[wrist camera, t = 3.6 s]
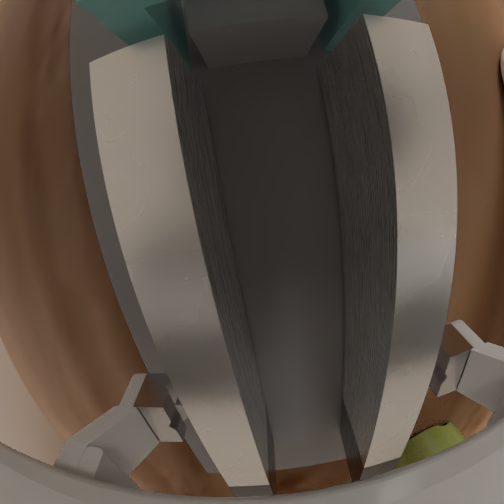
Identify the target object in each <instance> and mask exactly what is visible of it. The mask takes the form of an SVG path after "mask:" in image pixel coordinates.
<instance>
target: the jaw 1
mask: <svg viewBox="0 0 504 504" xmlns="http://www.w3.org/2000/svg"><path fill="white" fill-rule="evenodd" d="M89 67H90V82H91V94H92V104H93V113H94V121H95V128H96V135H97V142H98V148H99V154H100V159H101V165H102V170H103V175H104V180H105V185H106V190H107V194H108V199H109V203H110V207H111V211H112V215H113V219H114V223H115V227H116V231H117V235H118V238H119V242H120V246H121V249H122V252H123V256H124V259H125V262H126V266H127V269H128V272H129V275H130V278H131V281H132V284H133V287H134V290H135V293H136V296H137V299H138V302H139V305H140V308H141V310H142V313H143V316H144V318H145V321H146V324H147V326H148V329H149V331H150V334H151V337H152V339H153V342H154V344H155V346H156V349H157V351H158V354H159V356H160V358H161V361H162V363H163V365H164V367H165V370H166V372H167V374H168V376H169V379H170V381H171V383H172V385H173V387H174V389H175V391H176V393H177V396H178V398H179V400H180V402H181V404H182V406H183V408H184V410H185V412H186V414H187V416H188V417H189V419H190V421H191V423H192V425H193V427H194V429H195V431H196V432H197V434H198V436H199V438H200V440H201V442H202V443H203V445H204V447H205V449H206V450H207V452H208V454H209V455H210V457H211V459H212V460H213V462H214V464H215V465H216V467H217V469H218V470H219V472H220V473H221V475H222V477H223V478H224V480H225V481H226V483H227V484H228V486H229V488H230V490H231V491H232V493H233V494H234V495H235V497H252V496H268V495H277V486H276V468H275V450H274V440H273V436H272V432H271V427H270V423H269V418H268V414H267V410H266V406H265V402H264V397H263V393H262V389H261V384H260V379H259V375H258V370H257V366H256V361H255V357H254V352H253V347H252V343H251V338H250V333H249V328H248V324H247V319H246V314H245V309H244V304H243V300H242V295H241V290H240V285H239V280H238V275H237V270H236V265H235V260H234V255H233V250H232V245H231V240H230V234H229V229H228V224H227V219H226V214H225V208H224V203H223V198H222V192H221V187H220V182H219V176H218V171H217V165H216V160H215V154H214V148H213V143H212V137H211V131H210V126H209V120H208V114H207V108H206V102H205V96H204V90H203V84H202V83H201V81H200V80H199V79H198V77H197V76H196V75H195V73H194V72H193V71H192V69H191V68H190V67H189V65H188V64H187V63H186V62H185V60H184V59H183V58H182V56H181V55H180V54H179V53H178V51H177V50H176V49H175V47H174V46H173V45H172V44H171V42H170V41H169V40H168V39H167V37H166V36H165V35H164V34H163V35H160V36H157V37H153V38H150V39H147V40H144V41H141V42H139V43H136V44H133V45H130V46H128V47H125V48H122V49H120V50H117V51H115V52H112V53H110V54H108V55H105V56H103V57H101V58H98V59H96V60H94V61H92V62H90V63H89Z"/></svg>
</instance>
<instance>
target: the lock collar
mask: <svg viewBox="0 0 504 504" xmlns="http://www.w3.org/2000/svg"><path fill="white" fill-rule="evenodd" d="M323 1H324V5H325V8H326V11H327V14H328V19H327V21H326V22H325V24H324V26H323V27H322V29H321V31H320V32H319V37H320V41H321V45H322V49H323V51H332V50H333V49H334V48H335V46H336V45H337V44H338V43H339V42H340V40H341V39H342V38H343V37H344V35H345V34H346V33H347V32H348V31H349V30H350V28H351V27H352V26H353V25H354V24H355V22H356V21H357V20H358V19H359V18H360V17H361V15H362V14H368V15H377V16H385V15H386V14H387V13H388V12H389V11H390V10H391V9H392V8H393V7H395V6H396V5H397V4H398V3H399V2H400V1H401V0H323ZM76 4H77V5H79V6H80V7H82V8H83V9H85V10H86V11H87V12H89V13H90V14H92V15H93V16H94V17H96V18H97V19H98V20H100V21H101V22H102V25H103V26H104V27H105V28H107V29H108V30H109V31H111V32H112V33H113V34H115V35H116V36H117V37H119V38H120V39H121V40H123V41H124V42H125V43H127V44H128V45H129V46H130V45H133V44H136V43H139V42H141V41H144V40H147V39H150V38H153V37H157V36H160V35H163V34H164V35H165V36H166V37H167V39H168V40H169V41H170V42H171V44H172V45H173V46H174V47H175V49H176V50H177V51H178V53H179V54H180V55H181V56H182V58H183V59H184V60H185V62H186V63H187V64H188V65H189V67H190V68H191V61H190V55H189V48H188V41H187V34H186V27H185V20H184V13H183V6H182V0H76Z"/></svg>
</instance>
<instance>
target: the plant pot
mask: <svg viewBox="0 0 504 504" xmlns="http://www.w3.org/2000/svg"><path fill="white" fill-rule="evenodd" d="M463 440H465V438H464V437H463V435H462V434H461V433H460V432H459V430H458V429H457V428H456V427H455V426H454V424H452V423H447V424H446V425H445V426H433V427H431V428H428V429H426V430H424V431H423V432H421V433H419V434H418V435H416V436H414V437H413V438H411V439H410V440H408V442H407V444H406V446H405V449H404V451H403V453H402V455H401V458H400V460H399V462H398V464H397V466H396V468H395V469H398V468H401V467H404V466H406V465H409V464H412V463H414V462H417V461H420V460H422V459H424V458H427V457H429V456H432V455H434V454H436V453H438V452H441V451H443V450H445V449H447V448H449V447H451V446H453V445H455V444H457V443H459V442H461V441H463Z"/></svg>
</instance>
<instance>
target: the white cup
mask: <svg viewBox="0 0 504 504" xmlns="http://www.w3.org/2000/svg"><path fill="white" fill-rule="evenodd" d="M500 65H501V74H502V79H503V83H504V48H503V50H502V53H501V59H500Z"/></svg>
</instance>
